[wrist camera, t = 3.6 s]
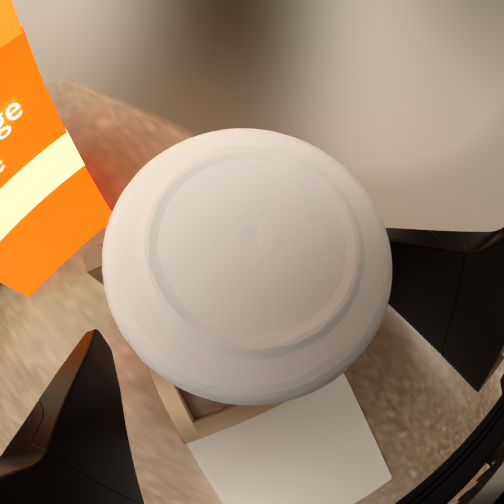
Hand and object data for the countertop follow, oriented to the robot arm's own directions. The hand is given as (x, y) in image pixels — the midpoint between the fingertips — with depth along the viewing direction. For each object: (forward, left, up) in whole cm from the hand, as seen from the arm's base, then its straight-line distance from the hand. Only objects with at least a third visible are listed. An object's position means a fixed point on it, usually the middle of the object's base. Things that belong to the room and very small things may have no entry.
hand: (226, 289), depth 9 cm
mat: (-10, -3, -8) cm, 13 cm away
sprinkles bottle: (-1, 0, -8) cm, 8 cm away
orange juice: (+7, +13, -8) cm, 17 cm away
